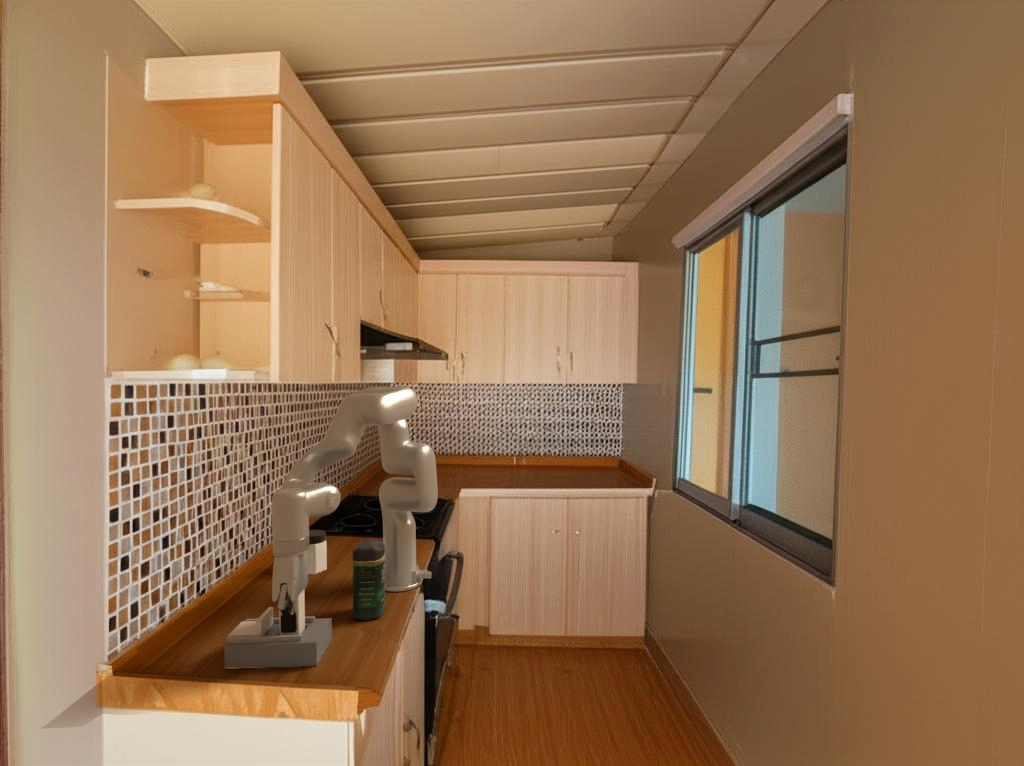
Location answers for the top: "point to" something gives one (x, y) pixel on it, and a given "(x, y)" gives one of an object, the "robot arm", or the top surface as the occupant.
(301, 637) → the socket block
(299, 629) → the plug
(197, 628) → the top surface
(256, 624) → the shutter
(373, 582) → the coffee jar
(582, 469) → the top surface
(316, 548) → the jar
